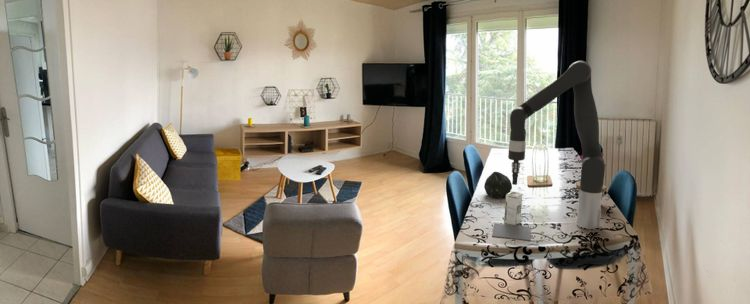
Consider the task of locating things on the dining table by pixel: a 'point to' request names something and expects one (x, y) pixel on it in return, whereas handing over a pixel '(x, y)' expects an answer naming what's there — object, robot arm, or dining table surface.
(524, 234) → the mat
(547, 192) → the dining table surface
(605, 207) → the dining table surface
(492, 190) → the squash
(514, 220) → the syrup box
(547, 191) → the dining table surface
